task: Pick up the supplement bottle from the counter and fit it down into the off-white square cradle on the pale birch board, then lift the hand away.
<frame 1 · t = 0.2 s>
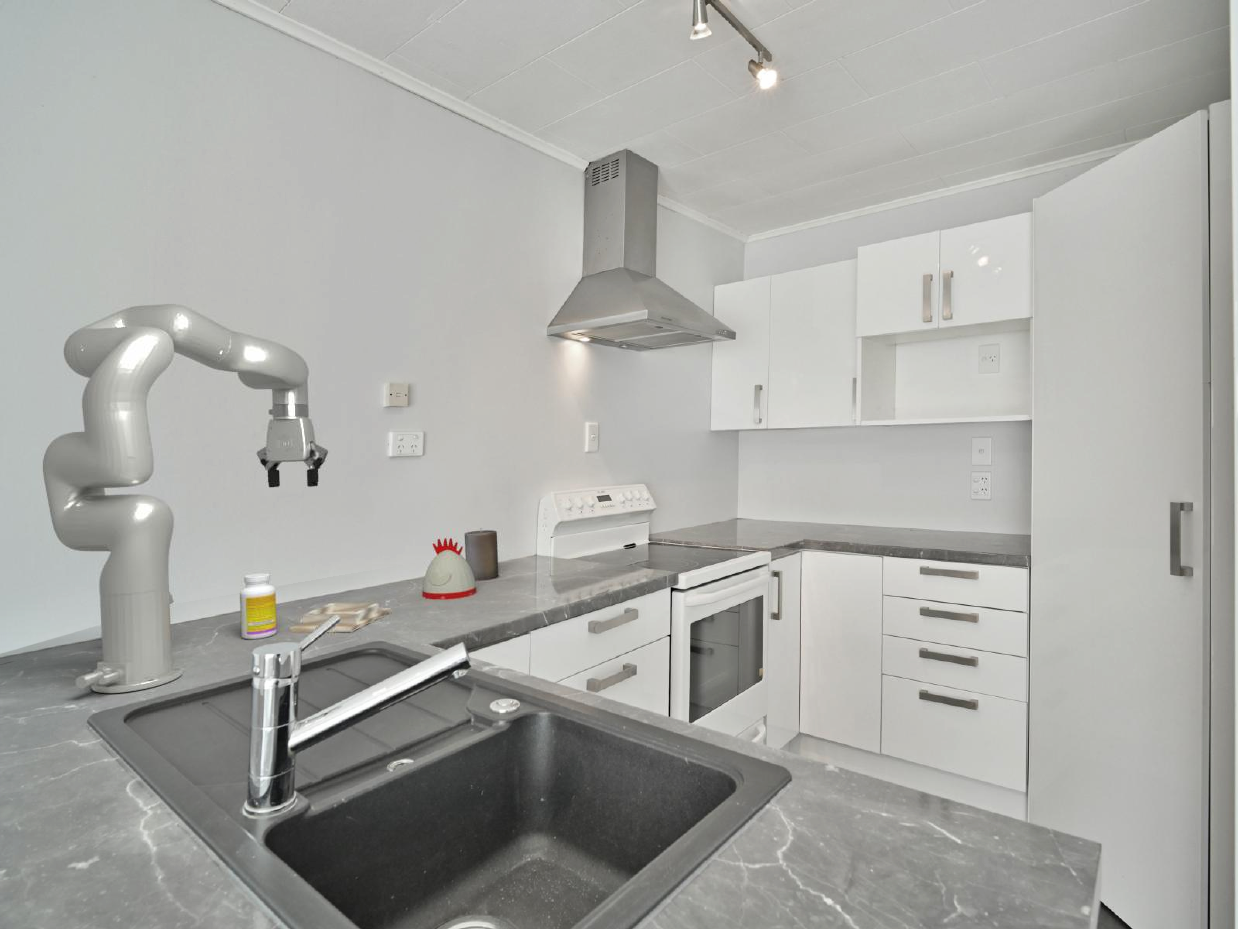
hand: (293, 486, 157), 31 cm above the countertop, tool pointing down, fingers open, 9 cm apart
cradle board: (343, 621, 152), on the countertop
food container: (151, 646, 136), on the countertop
pillar candle: (482, 578, 202), on the countertop
kitchen timer: (449, 594, 180), on the countertop
supplement bottle: (259, 636, 141), on the countertop
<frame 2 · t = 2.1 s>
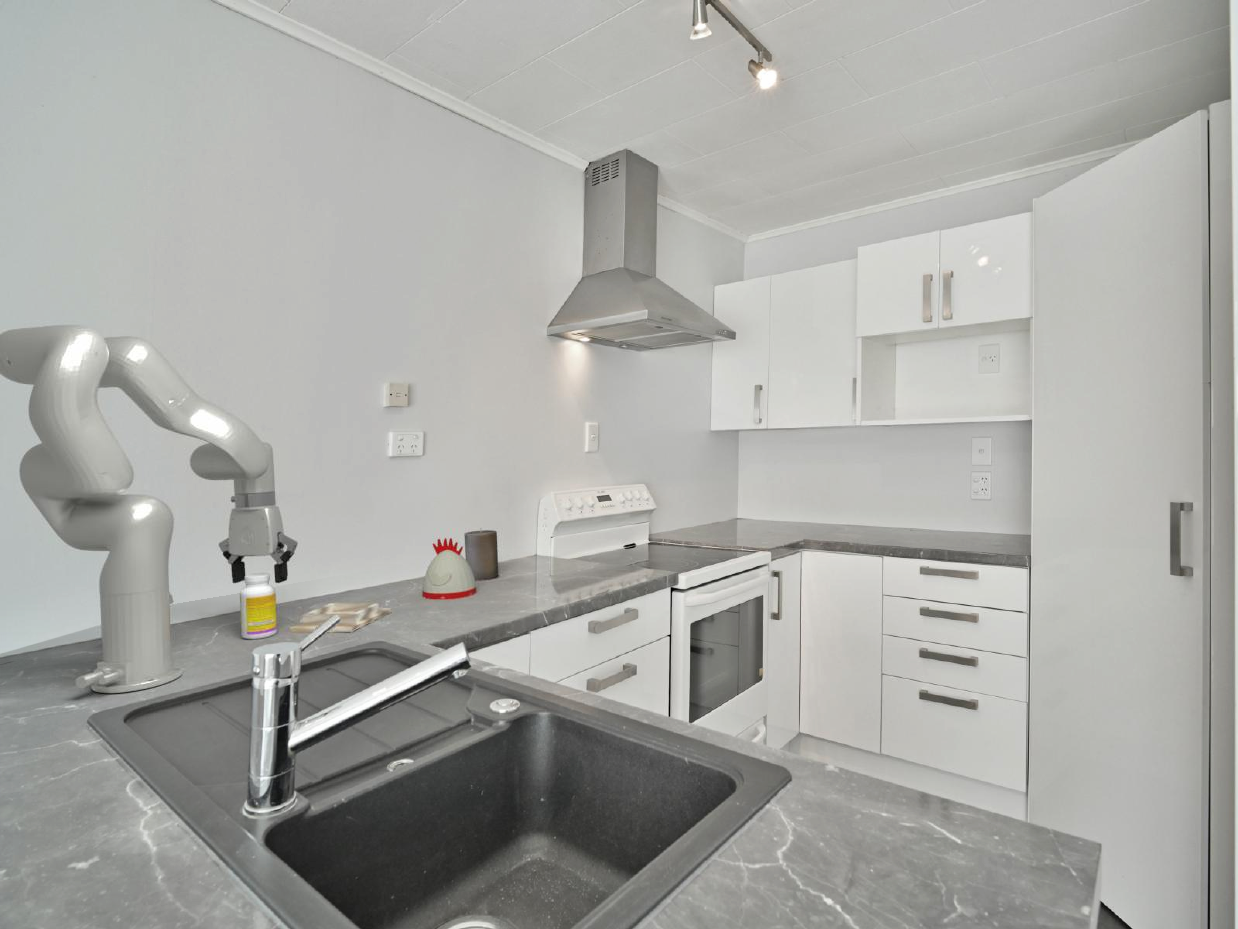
hand: (260, 581, 142), 11 cm above the countertop, tool pointing down, fingers open, 9 cm apart
nothing on the countertop moved.
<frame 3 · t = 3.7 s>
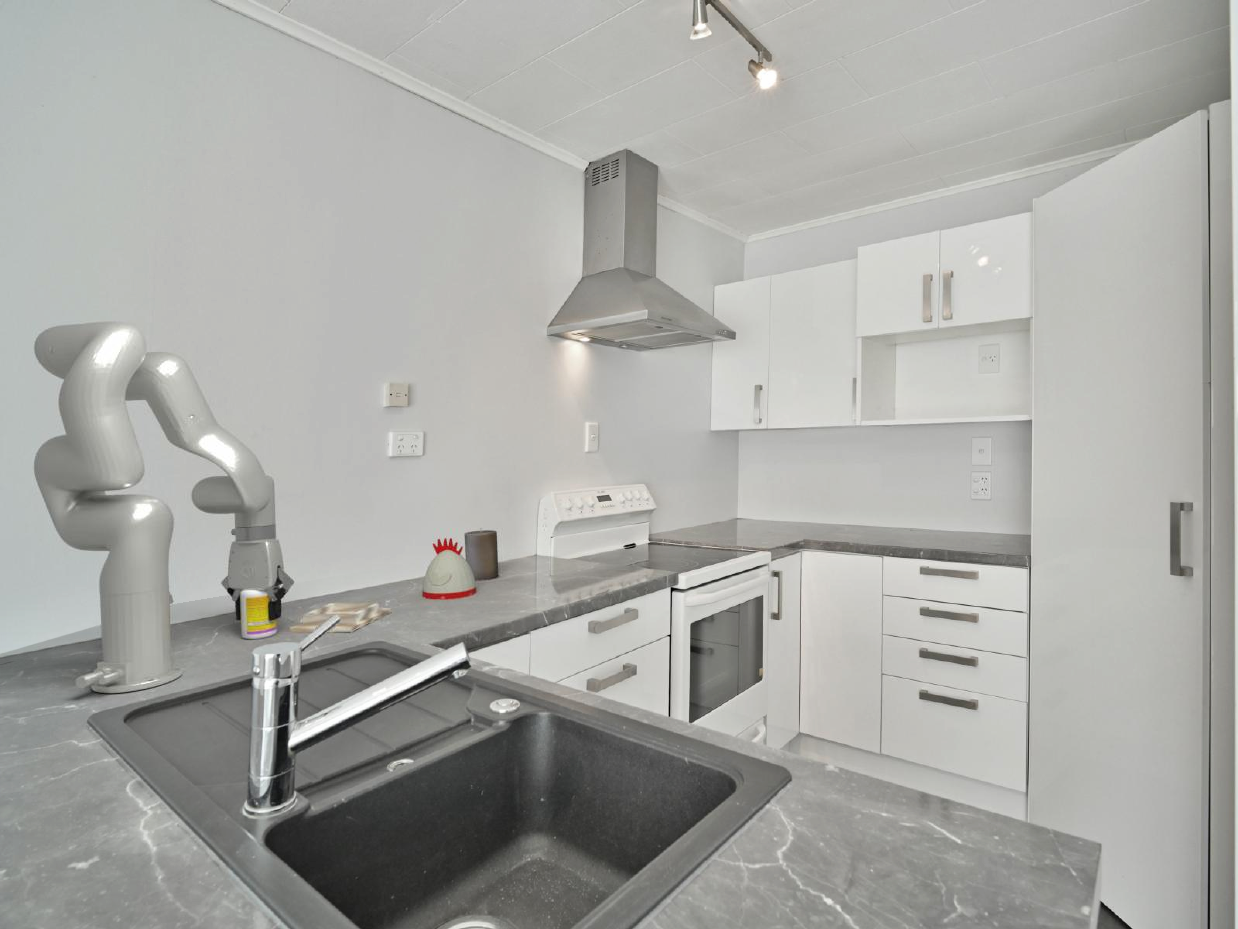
hand: (258, 618, 141), 4 cm above the countertop, tool pointing down, fingers closed on supplement bottle, 6 cm apart
supplement bottle: (259, 636, 141), on the countertop, touching gripper
everything else where it was.
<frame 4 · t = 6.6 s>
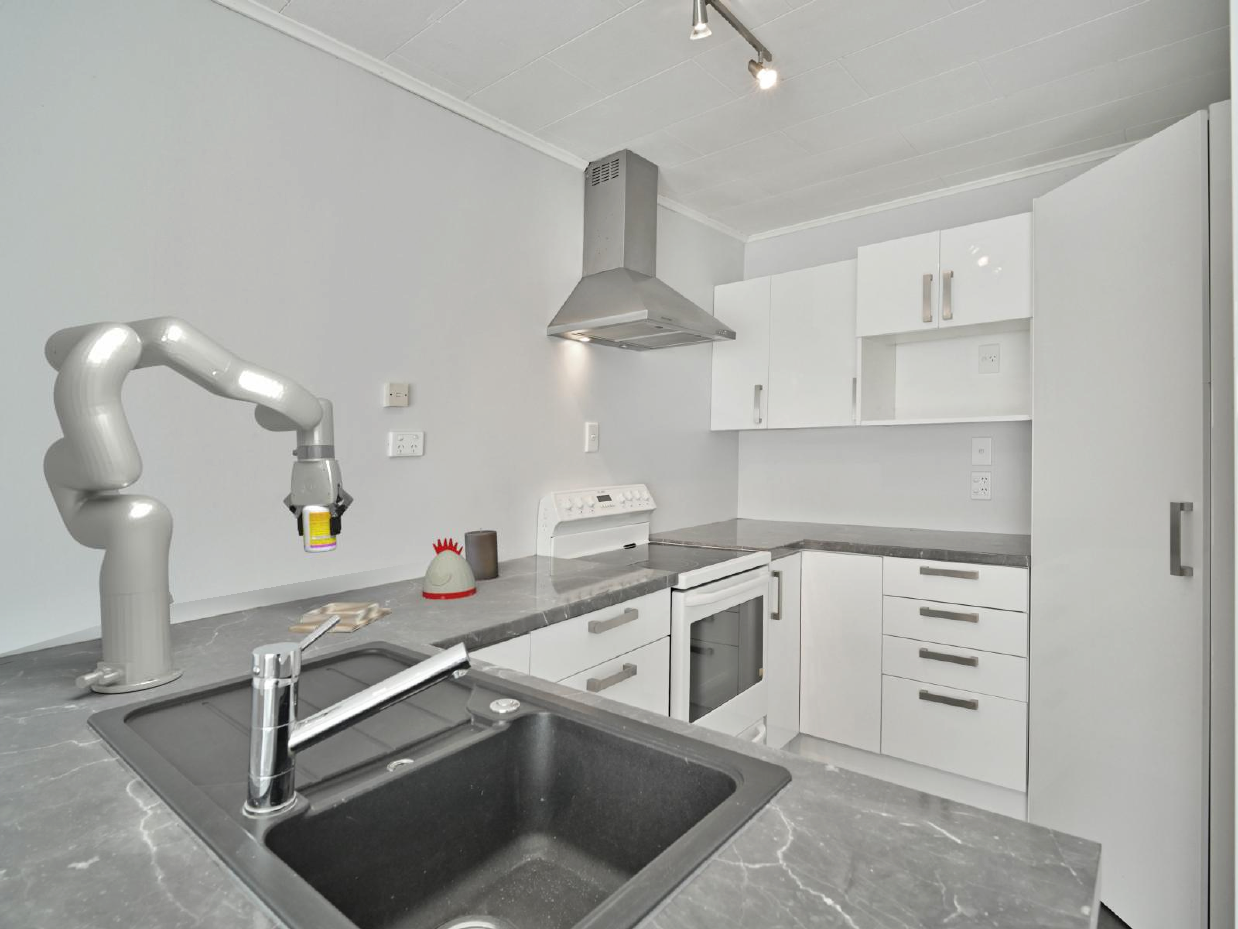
hand: (319, 534, 149), 20 cm above the countertop, tool pointing down, fingers closed on supplement bottle, 6 cm apart
supplement bottle: (320, 551, 149), point 16 cm above the countertop, touching gripper
everything else where it was.
when the fingers open (6 cm above the countertop, at t = 9.5 s): supplement bottle drops 1 cm, resting on cradle board.
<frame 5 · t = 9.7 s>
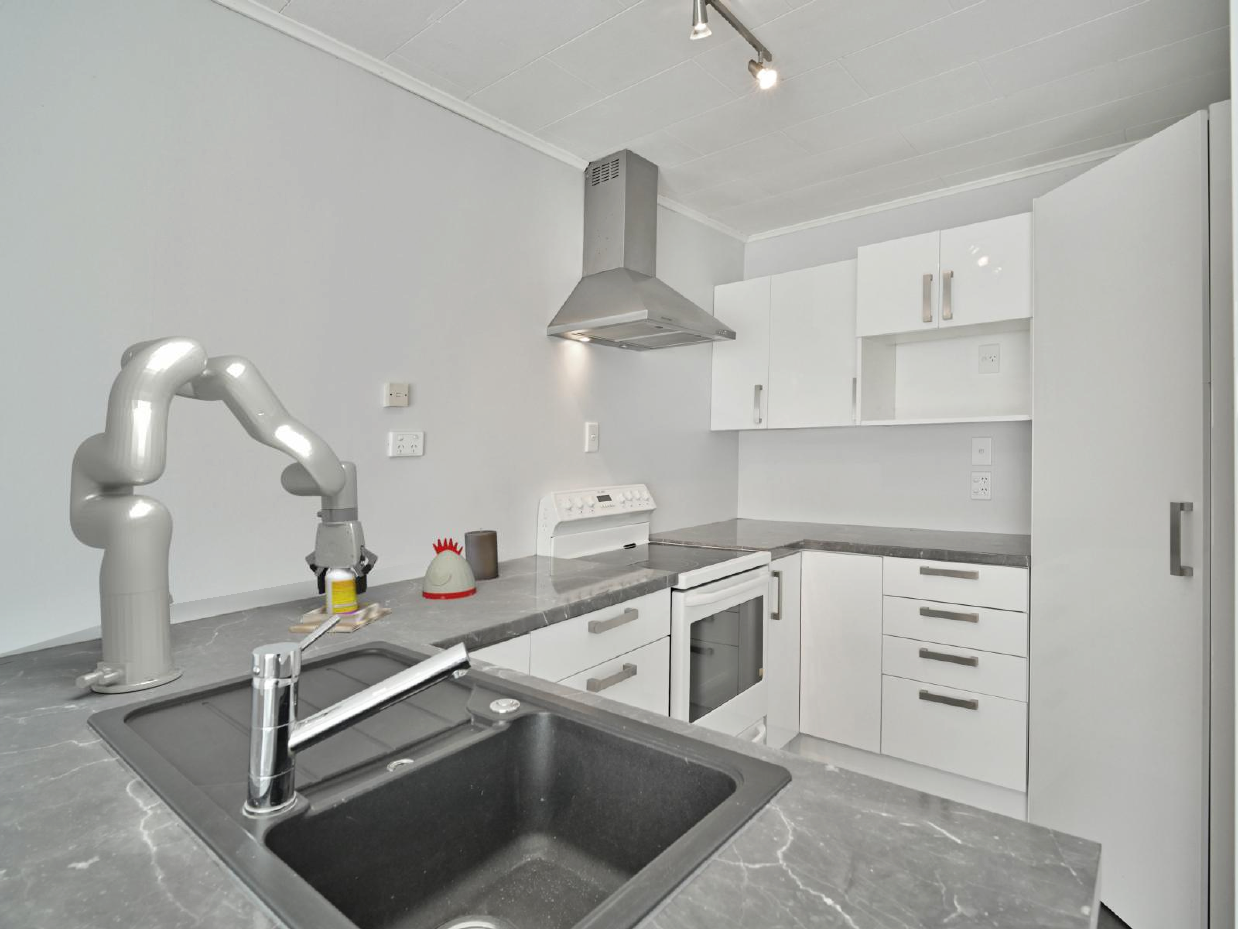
hand: (342, 592, 151), 7 cm above the countertop, tool pointing down, fingers open, 8 cm apart
supplement bottle: (342, 618, 151), point 1 cm above the countertop, touching cradle board
everything else where it was.
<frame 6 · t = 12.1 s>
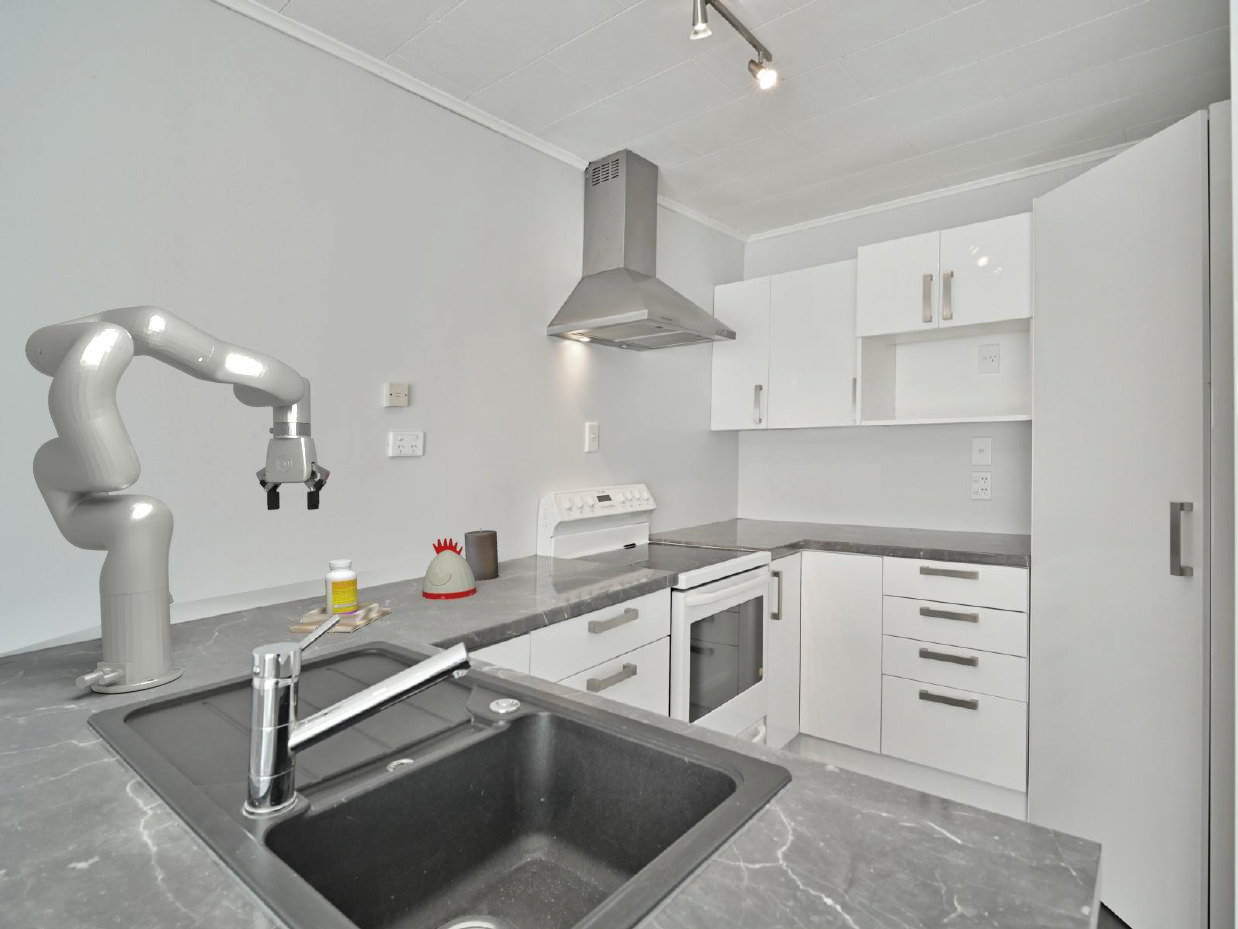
hand: (293, 509, 148), 26 cm above the countertop, tool pointing down, fingers open, 9 cm apart
nothing on the countertop moved.
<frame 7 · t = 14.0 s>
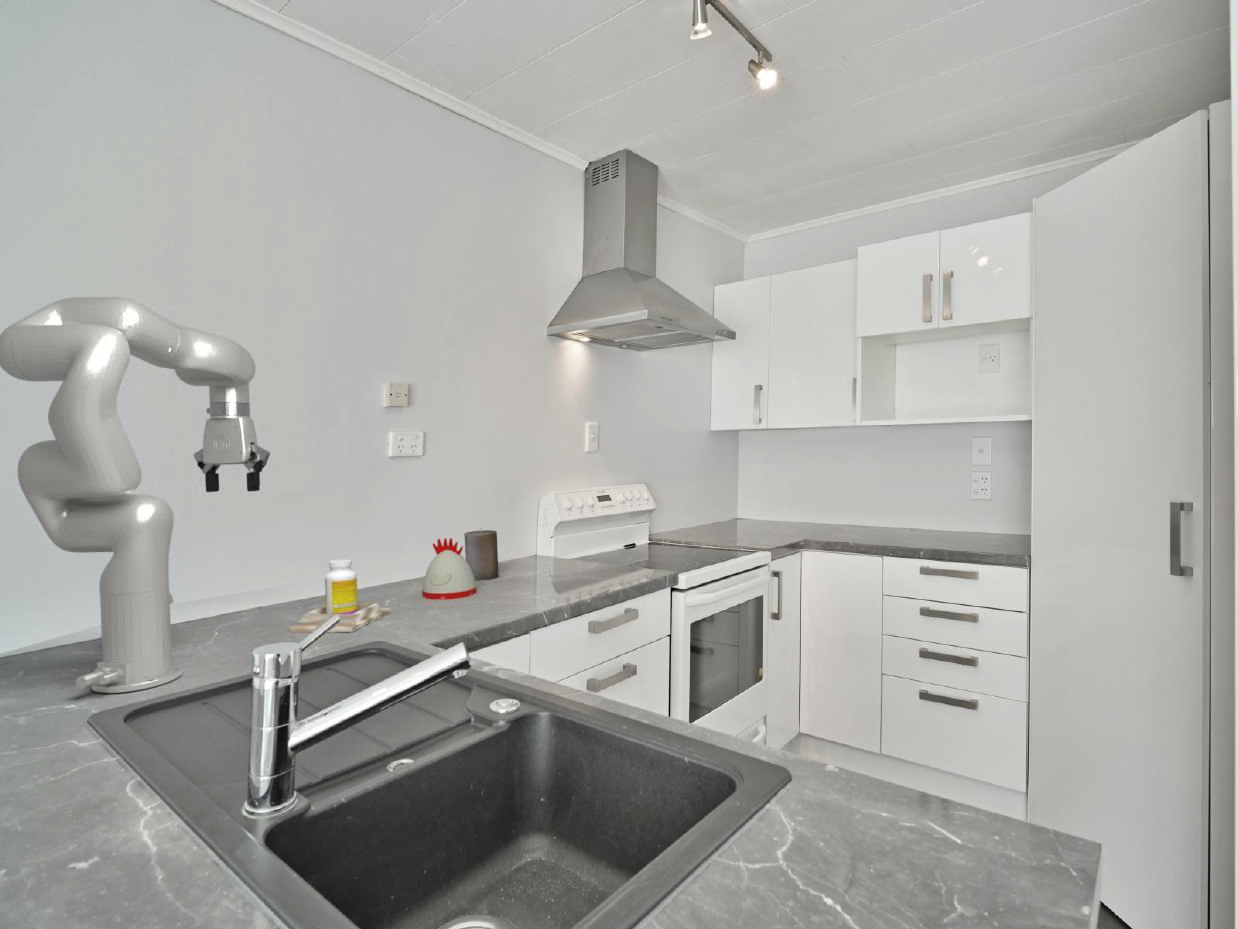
hand: (233, 491, 146), 30 cm above the countertop, tool pointing down, fingers open, 9 cm apart
nothing on the countertop moved.
at the end: supplement bottle 0.3 cm off-centre on the cradle board, point 0.8 cm above the cradle board's base; supplement bottle tilted 0°; the gripper is holding nothing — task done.
